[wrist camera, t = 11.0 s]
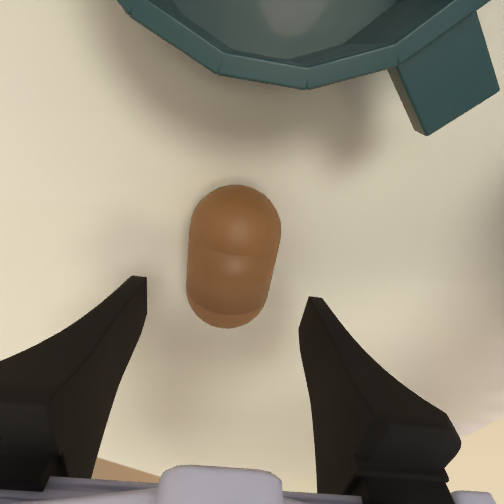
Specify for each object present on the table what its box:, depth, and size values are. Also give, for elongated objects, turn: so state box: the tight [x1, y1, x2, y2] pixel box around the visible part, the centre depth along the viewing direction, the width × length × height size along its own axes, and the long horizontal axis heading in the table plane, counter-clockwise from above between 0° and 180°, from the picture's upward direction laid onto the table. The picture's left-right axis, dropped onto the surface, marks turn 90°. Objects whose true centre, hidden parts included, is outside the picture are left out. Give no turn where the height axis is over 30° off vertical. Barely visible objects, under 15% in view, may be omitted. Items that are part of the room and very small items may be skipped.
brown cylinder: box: [186, 185, 281, 329], centre depth 18 cm, size 8×5×5 cm, turn 171°
